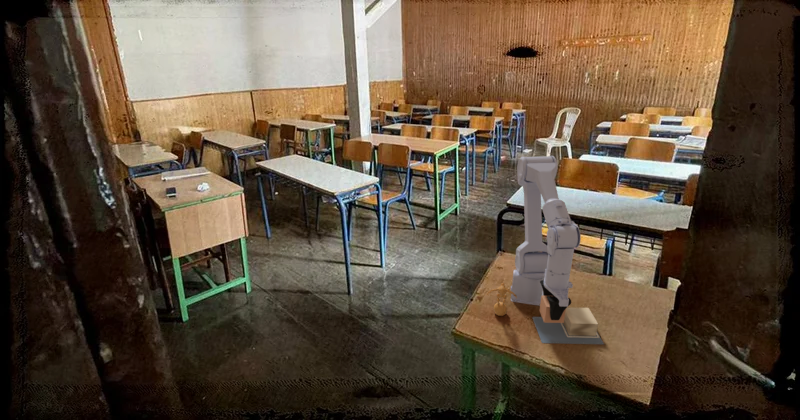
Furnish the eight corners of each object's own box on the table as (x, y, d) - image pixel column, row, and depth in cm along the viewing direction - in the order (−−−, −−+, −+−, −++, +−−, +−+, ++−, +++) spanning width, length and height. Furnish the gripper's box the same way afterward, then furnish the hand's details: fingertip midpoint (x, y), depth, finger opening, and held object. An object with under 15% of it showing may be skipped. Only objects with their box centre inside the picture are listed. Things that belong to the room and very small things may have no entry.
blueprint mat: (541, 344, 110) (542, 342, 109) (531, 317, 120) (532, 316, 119) (604, 345, 109) (604, 344, 108) (588, 318, 119) (589, 317, 119)
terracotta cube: (544, 322, 109) (546, 306, 107) (539, 310, 114) (541, 295, 112) (563, 322, 109) (566, 307, 107) (558, 311, 113) (560, 295, 111)
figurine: (514, 312, 122) (518, 277, 118) (514, 325, 117) (518, 289, 112) (485, 308, 124) (488, 274, 119) (484, 321, 119) (487, 285, 114)
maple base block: (569, 335, 112) (571, 323, 110) (561, 319, 118) (563, 307, 117) (595, 335, 111) (598, 323, 110) (586, 319, 118) (588, 307, 116)
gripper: (584, 284, 98) (576, 330, 104) (565, 254, 112) (559, 296, 117) (554, 284, 99) (547, 330, 104) (539, 254, 112) (533, 296, 118)
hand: (551, 312), depth 111 cm, fingers closed on terracotta cube, 5 cm apart
